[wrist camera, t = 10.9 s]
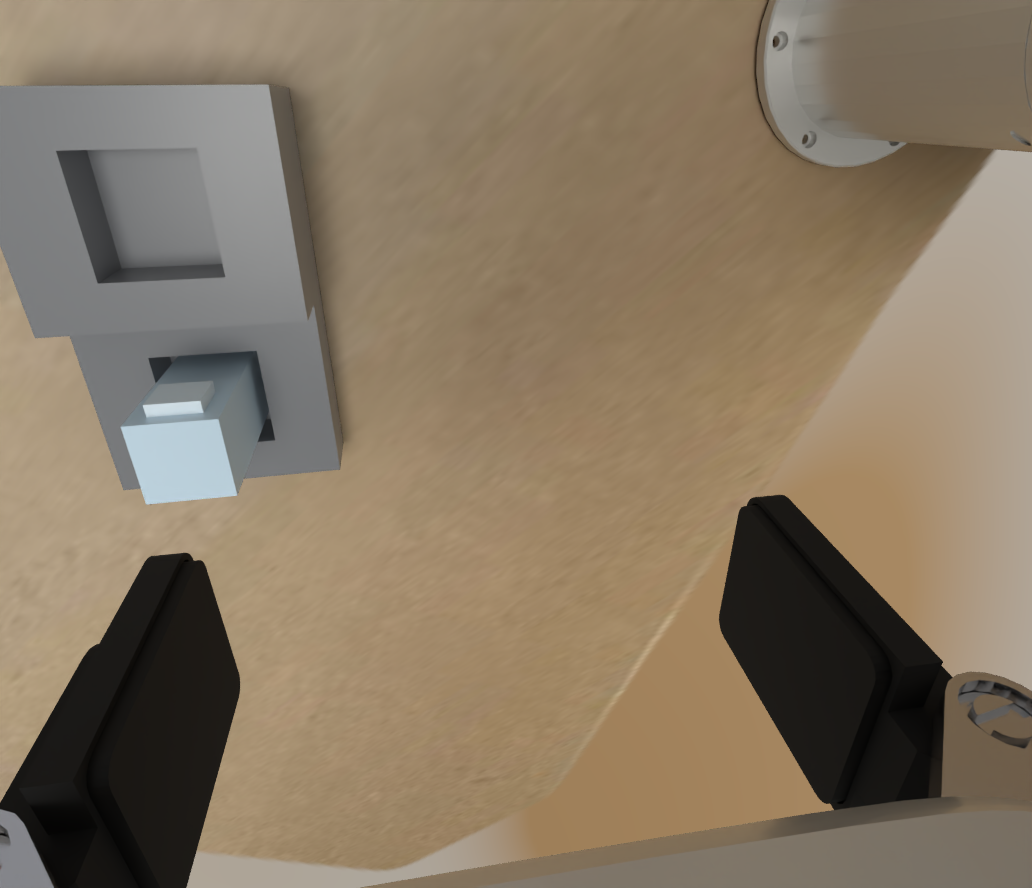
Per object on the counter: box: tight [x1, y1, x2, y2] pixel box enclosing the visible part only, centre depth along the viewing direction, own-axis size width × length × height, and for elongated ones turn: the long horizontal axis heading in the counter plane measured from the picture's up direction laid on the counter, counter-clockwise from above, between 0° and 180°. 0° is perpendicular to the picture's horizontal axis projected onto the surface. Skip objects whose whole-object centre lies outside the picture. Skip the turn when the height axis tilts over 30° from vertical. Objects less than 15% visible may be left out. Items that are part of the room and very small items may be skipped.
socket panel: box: [0, 85, 343, 490], centre depth 33 cm, size 12×20×6 cm, turn 0°
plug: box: [121, 351, 269, 504], centre depth 33 cm, size 4×5×10 cm
